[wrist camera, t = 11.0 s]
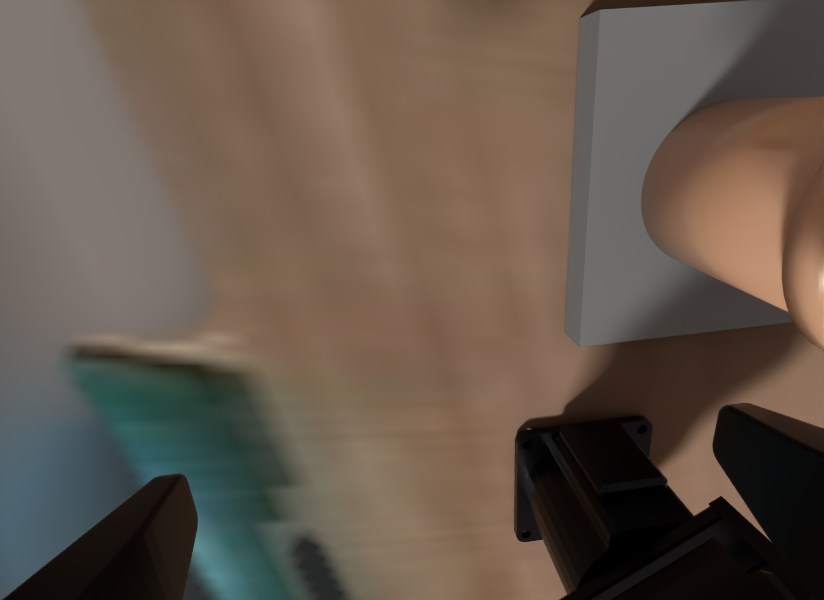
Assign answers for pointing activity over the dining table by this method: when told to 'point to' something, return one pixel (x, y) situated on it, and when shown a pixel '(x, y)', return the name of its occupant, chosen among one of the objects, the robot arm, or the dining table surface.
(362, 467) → the dining table surface
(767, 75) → the rubber mat
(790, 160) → the terracotta pot
